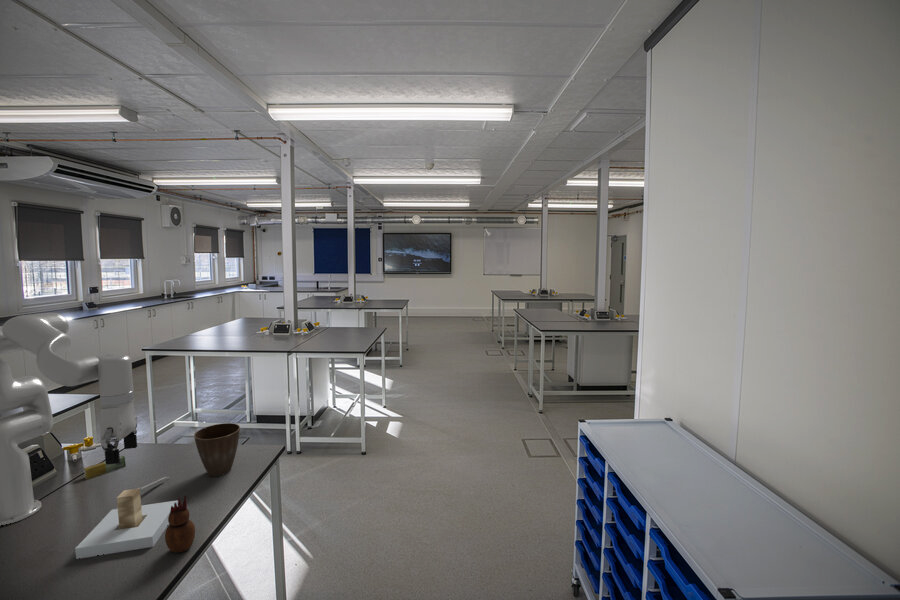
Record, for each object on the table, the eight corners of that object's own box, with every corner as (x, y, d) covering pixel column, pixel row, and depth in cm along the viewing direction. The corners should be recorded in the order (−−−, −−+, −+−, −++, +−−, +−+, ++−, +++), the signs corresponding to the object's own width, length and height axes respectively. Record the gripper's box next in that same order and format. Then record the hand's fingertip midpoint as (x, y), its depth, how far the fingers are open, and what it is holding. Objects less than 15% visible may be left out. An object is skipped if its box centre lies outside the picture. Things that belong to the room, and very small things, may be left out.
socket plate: (76, 559, 110) (75, 548, 110) (112, 518, 127) (112, 509, 127) (153, 546, 114) (152, 536, 114) (178, 509, 132) (177, 500, 132)
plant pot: (237, 458, 166) (235, 419, 164) (246, 472, 154) (244, 431, 153) (194, 470, 157) (191, 429, 155) (200, 486, 145) (197, 443, 144)
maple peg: (120, 537, 119) (116, 497, 117) (127, 528, 122) (124, 490, 121) (136, 535, 119) (132, 495, 118) (143, 526, 123) (139, 488, 122)
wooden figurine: (200, 541, 116) (196, 490, 115) (187, 555, 111) (183, 502, 109) (175, 542, 116) (171, 491, 115) (162, 556, 110) (157, 503, 109)
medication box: (124, 465, 162) (123, 455, 162) (126, 466, 161) (125, 456, 161) (84, 478, 153) (83, 467, 152) (86, 480, 151) (85, 469, 151)
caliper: (124, 512, 131) (122, 493, 130) (121, 512, 131) (119, 493, 131) (170, 478, 151) (168, 462, 151) (167, 478, 151) (165, 462, 151)
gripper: (118, 390, 126) (123, 444, 128) (83, 410, 109) (89, 471, 111) (146, 388, 128) (150, 441, 130) (116, 407, 111) (121, 468, 113)
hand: (122, 455), depth 120 cm, fingers open, 9 cm apart
